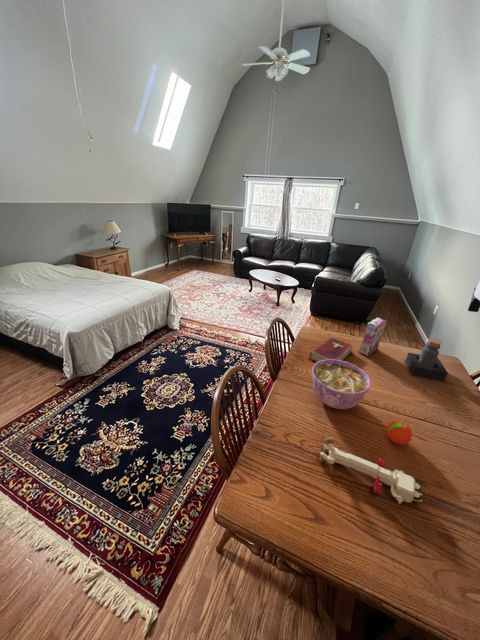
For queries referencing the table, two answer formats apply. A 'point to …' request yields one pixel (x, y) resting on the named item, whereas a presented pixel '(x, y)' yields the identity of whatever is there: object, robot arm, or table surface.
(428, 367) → the holder
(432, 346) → the bottle
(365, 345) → the candy bar box
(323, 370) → the bowl of food
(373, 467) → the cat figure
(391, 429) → the red tomato
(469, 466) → the table surface
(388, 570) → the table surface
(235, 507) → the table surface
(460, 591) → the table surface
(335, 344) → the hardcover book
